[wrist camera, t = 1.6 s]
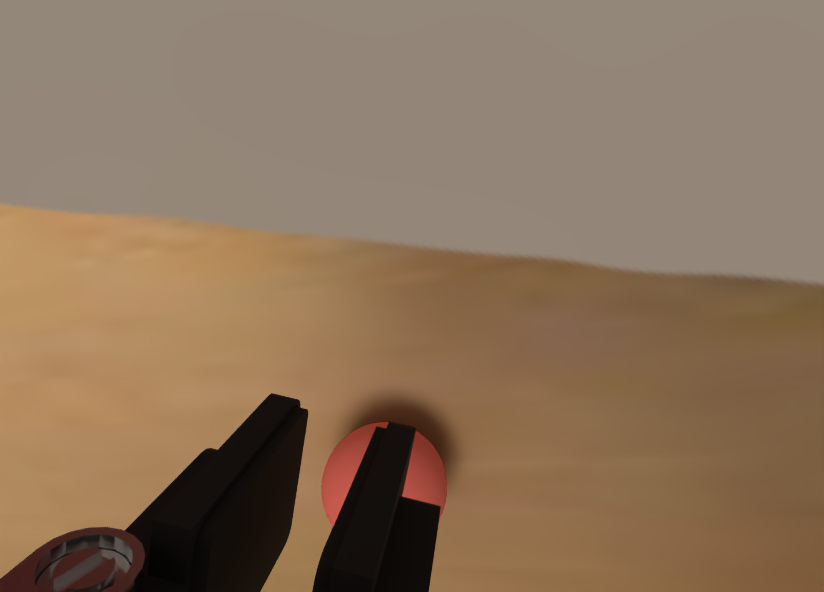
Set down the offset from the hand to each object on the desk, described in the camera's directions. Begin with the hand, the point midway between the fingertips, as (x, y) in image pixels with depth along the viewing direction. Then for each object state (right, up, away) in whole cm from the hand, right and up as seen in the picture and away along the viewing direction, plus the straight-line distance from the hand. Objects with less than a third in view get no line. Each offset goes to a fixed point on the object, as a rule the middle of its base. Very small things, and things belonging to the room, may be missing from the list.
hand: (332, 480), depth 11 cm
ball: (0, -6, +16) cm, 17 cm away
